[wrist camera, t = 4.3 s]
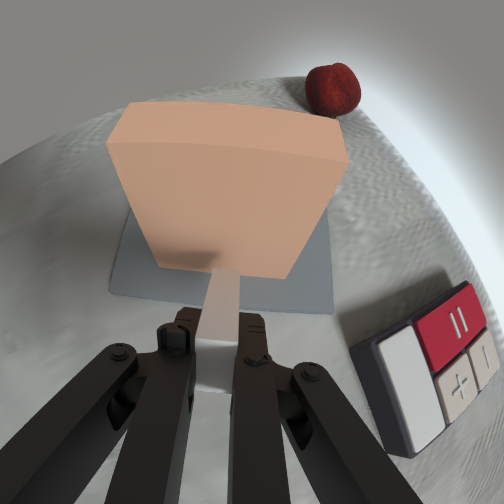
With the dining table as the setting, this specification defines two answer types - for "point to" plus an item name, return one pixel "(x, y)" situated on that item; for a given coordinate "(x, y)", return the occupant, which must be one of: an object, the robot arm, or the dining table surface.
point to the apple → (332, 90)
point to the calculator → (426, 370)
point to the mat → (251, 288)
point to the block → (226, 182)
